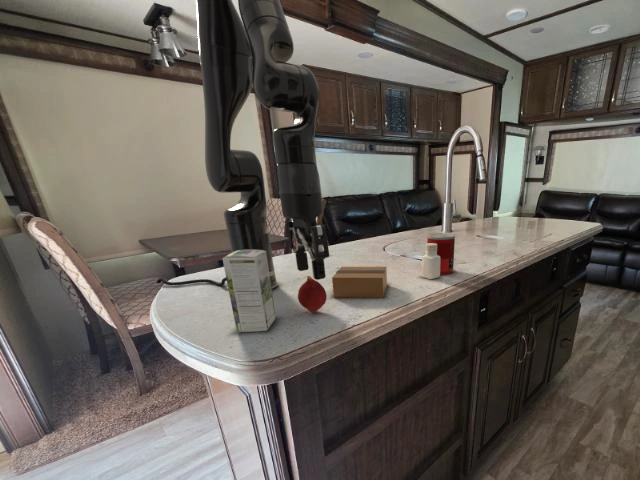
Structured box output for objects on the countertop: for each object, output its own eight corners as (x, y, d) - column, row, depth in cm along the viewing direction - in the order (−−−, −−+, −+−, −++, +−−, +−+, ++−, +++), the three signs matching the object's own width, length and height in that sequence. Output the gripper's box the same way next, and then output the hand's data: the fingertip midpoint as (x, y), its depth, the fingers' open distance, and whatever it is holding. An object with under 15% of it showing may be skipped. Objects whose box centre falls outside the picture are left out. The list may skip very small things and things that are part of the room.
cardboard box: (333, 297, 76) (331, 277, 74) (342, 284, 85) (341, 266, 84) (383, 297, 75) (382, 277, 74) (387, 284, 85) (386, 266, 83)
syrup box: (247, 320, 64) (233, 249, 59) (277, 319, 65) (266, 248, 59) (236, 333, 59) (219, 256, 54) (269, 331, 59) (255, 255, 54)
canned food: (454, 274, 92) (456, 237, 88) (427, 275, 93) (428, 237, 89) (451, 268, 100) (452, 232, 96) (426, 268, 100) (426, 233, 96)
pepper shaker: (420, 277, 91) (421, 244, 87) (430, 274, 93) (431, 242, 90) (430, 280, 88) (431, 246, 85) (440, 277, 90) (441, 244, 87)
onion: (331, 307, 70) (328, 272, 67) (323, 317, 65) (319, 280, 62) (306, 306, 71) (301, 272, 68) (295, 317, 65) (290, 280, 62)
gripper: (268, 191, 62) (281, 271, 68) (294, 191, 52) (307, 286, 57) (305, 190, 67) (314, 265, 72) (335, 190, 56) (344, 278, 61)
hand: (311, 274), depth 65 cm, fingers open, 8 cm apart
